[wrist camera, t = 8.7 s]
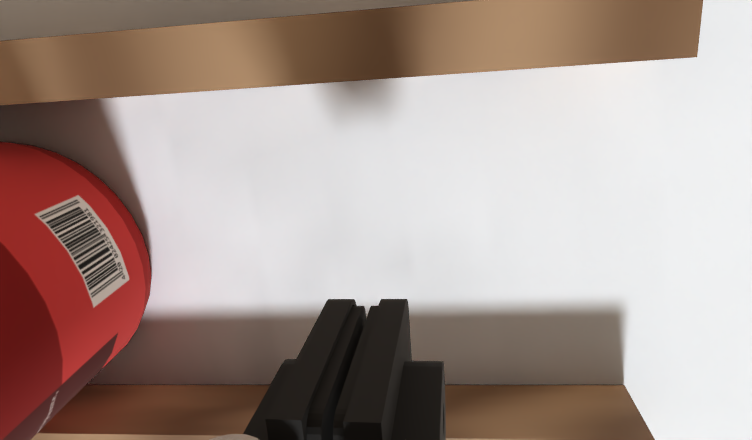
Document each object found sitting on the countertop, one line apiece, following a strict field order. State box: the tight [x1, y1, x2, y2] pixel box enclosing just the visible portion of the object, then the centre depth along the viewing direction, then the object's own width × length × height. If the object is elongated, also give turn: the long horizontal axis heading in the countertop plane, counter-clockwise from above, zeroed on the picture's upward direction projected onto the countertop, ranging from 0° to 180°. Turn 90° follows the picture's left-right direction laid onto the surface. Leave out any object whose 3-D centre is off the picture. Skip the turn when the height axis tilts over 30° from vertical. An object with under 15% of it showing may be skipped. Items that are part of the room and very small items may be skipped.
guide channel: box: [0, 0, 703, 440], centre depth 15 cm, size 26×13×4 cm, turn 94°
